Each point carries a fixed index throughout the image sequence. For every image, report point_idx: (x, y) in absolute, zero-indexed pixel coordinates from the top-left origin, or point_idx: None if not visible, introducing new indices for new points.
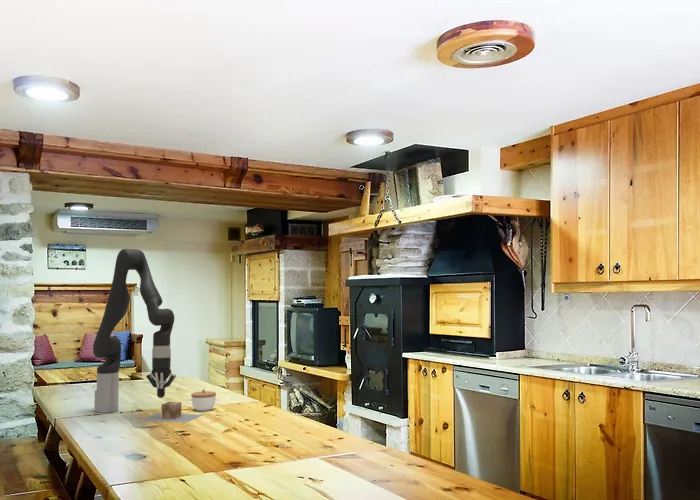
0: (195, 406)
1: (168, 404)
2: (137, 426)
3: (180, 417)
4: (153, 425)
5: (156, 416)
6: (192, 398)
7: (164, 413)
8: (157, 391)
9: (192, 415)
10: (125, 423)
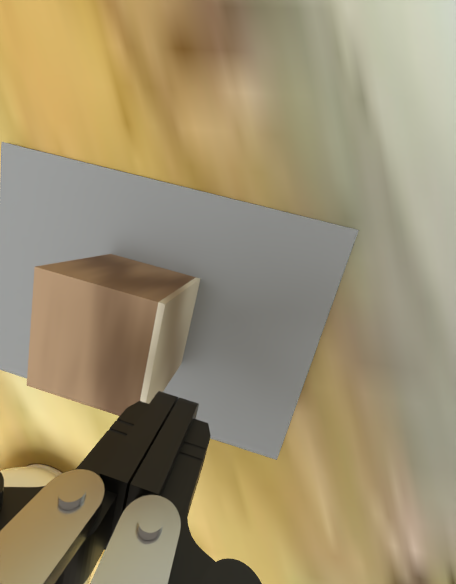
0: None
1: (94, 283)
2: (321, 38)
3: None
4: (206, 76)
5: (253, 365)
6: None
7: (166, 279)
8: (193, 474)
9: None
10: (444, 175)
